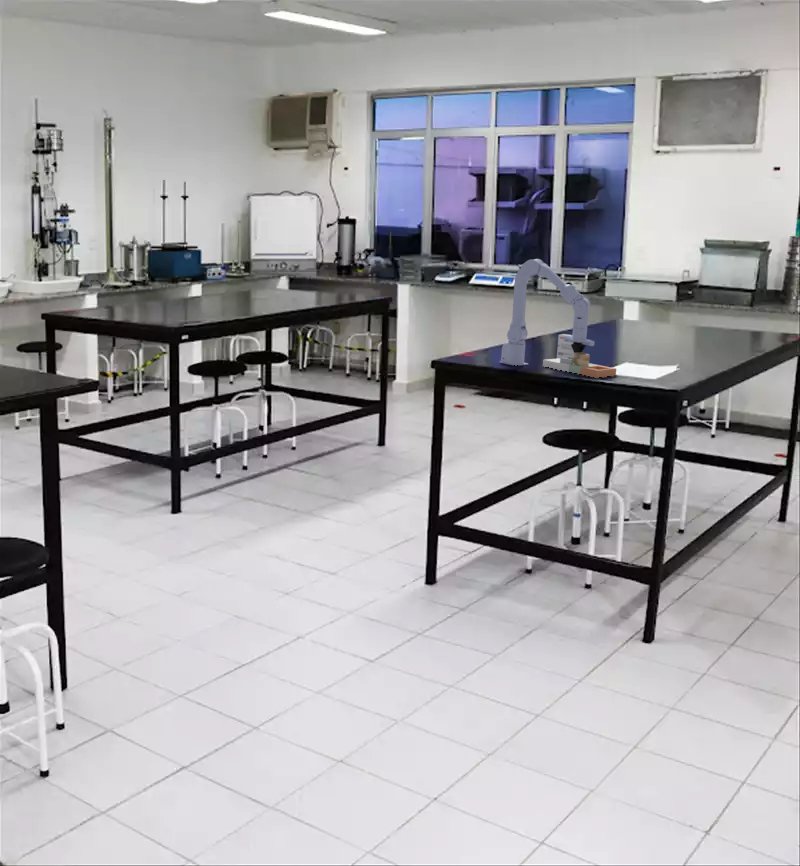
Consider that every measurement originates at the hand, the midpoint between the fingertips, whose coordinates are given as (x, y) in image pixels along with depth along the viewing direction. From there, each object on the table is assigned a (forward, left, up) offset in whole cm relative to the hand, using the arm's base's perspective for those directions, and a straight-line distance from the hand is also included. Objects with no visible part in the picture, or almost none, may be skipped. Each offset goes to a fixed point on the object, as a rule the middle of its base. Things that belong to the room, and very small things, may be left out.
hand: (577, 361), depth 416 cm
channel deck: (+1, 0, -4) cm, 4 cm away
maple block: (+3, -1, -1) cm, 3 cm away
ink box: (-17, +14, -4) cm, 22 cm away
